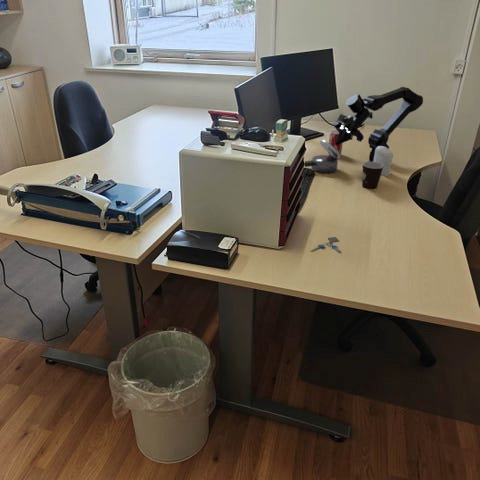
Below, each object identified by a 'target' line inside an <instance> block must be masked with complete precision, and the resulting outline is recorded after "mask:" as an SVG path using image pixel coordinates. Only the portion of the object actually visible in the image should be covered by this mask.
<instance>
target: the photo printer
mask: <svg viewBox="0 0 480 480" xmlns="http://www.w3.org/2000/svg"><path fill="white" fill-rule="evenodd" d="M393 158H394V154H393V152H392V151H391V149H390V148H389V149H388V148H387V147H384V146H378V147H377V148H376V150H375V155H374V160H373V162H377V163H380V164H382V165H383V170H382V173H381V176H383V177H387V176H389V175H390V172H391V168H392V163H393Z"/></svg>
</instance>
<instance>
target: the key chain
mask: <svg viewBox="0 0 480 480" xmlns="http://www.w3.org/2000/svg"><path fill="white" fill-rule="evenodd" d="M327 238H328V239H327V240H328V241H329V242H326V243H325V244H324V243H322V244H318V245H317V247H315V248H313V249H311V250H310V252H313V251H315V250H318V249H321V248H322V249H324V248H326V247H332V248H331V249H334V250H335V251H336V252H338V253H341V252H342V250H340V248H339V247H338V246H337V245H334V244H333V243H339V242H340V240H339V239H338V238H337V236H333V237H332V236H331V237H327ZM328 243H329V244H328ZM325 245H326V246H325Z"/></svg>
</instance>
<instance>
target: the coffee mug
mask: <svg viewBox="0 0 480 480" xmlns="http://www.w3.org/2000/svg"><path fill="white" fill-rule="evenodd" d="M382 170H383V165H382V164H380V163H377V162H369V161H365V162H363V163H362V178H361V179H362V183H361V187H362V188H364V189H365V188H366V190H371V189H372V190H376V189H377V188H378V185H379V183H380V179H381V177H382V175H381V173H382Z"/></svg>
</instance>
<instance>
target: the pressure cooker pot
mask: <svg viewBox="0 0 480 480" xmlns="http://www.w3.org/2000/svg"><path fill="white" fill-rule="evenodd" d="M338 163H339V159H337V158H335V157H334V156H331V155H327V154H326V155H325V154H323V155H322V154H321V155H315V156H313V157H312V159H311V160H305V167H304V168H306V167H307V168H308V167H311V170H312V169H313V170H314V171H313V170H312V171H313V172H314V173H318V174H324V175H327V174H329V175H330V174H334V173H336V172H337V171H338Z"/></svg>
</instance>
